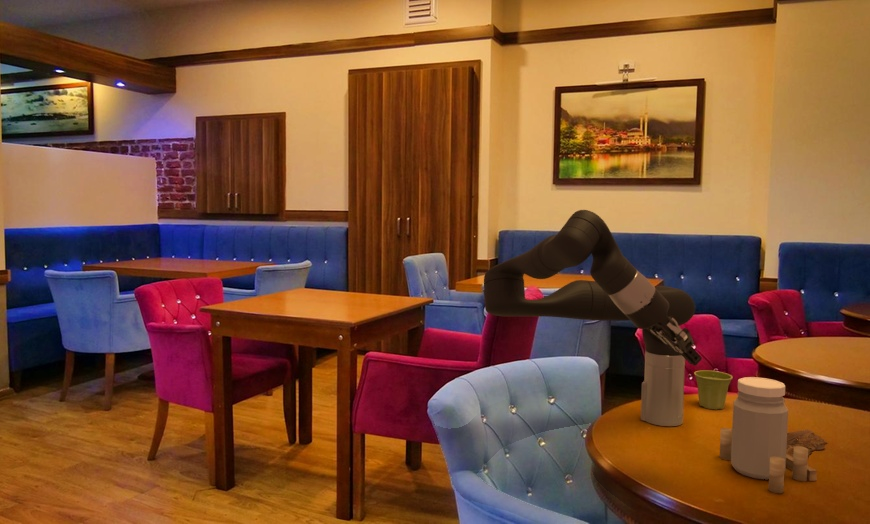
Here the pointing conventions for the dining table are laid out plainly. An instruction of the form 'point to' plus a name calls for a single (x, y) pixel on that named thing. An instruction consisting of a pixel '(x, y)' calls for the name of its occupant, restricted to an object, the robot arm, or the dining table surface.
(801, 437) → the wooden fragment
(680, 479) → the dining table surface
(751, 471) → the jar
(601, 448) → the dining table surface
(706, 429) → the dining table surface
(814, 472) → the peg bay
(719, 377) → the plant pot
